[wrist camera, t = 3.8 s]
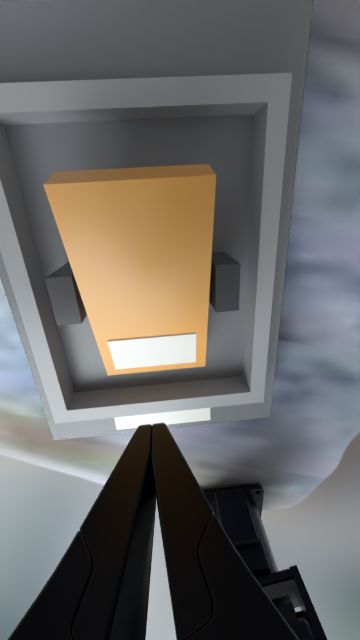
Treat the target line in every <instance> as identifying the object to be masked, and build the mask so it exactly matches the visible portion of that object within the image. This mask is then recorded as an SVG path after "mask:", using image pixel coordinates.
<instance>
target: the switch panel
mask: <svg viewBox="0 0 360 640" xmlns="http://www.w3.org/2000/svg"><path fill="white" fill-rule="evenodd" d="M312 4H313V0H2V1H0V278H1V281H2V284H3V287H4V290H5V293H6V296H7V299H8V302H9V305H10V308H11V311H12V314H13V317H14V320H15V323H16V326H17V330H18V333H19V336H20V339H21V342H22V345H23V348H24V351H25V354H26V357H27V360H28V363H29V366H30V369H31V372H32V375H33V378H34V381H35V384H36V387H37V390H38V393H39V396H40V399H41V402H42V405H43V408H44V411H45V414H46V417H47V420H48V423H49V427H50V430H51V433H52V436H53V439H54V440H61V439H71V438H80V437H89V436H99V435H108V434H118V433H127V432H135V431H136V430H137V428H138V426H140V425H146V424H151V425H153V424H155V423H165V424H166V426H167V427H168V428H174V427H184V426H193V425H203V424H212V423H221V422H231V421H240V420H250V419H259V418H269V417H270V414H271V404H272V394H273V385H274V375H275V365H276V355H277V346H278V336H279V326H280V316H281V307H282V297H283V287H284V277H285V268H286V258H287V248H288V238H289V229H290V219H291V209H292V199H293V190H294V180H295V170H296V160H297V151H298V141H299V131H300V121H301V112H302V102H303V92H304V82H305V73H306V63H307V53H308V43H309V34H310V24H311V14H312ZM194 164H209V166H210V167H211V169H212V170H213V171H214V173H215V174H216V188H215V206H214V223H213V240H212V258H211V275H210V292H209V310H208V327H207V344H206V362H205V366H203V367H193V368H182V369H172V370H161V371H150V372H140V373H129V374H119V375H107V372H106V369H105V366H104V363H103V360H102V357H101V354H100V351H99V348H98V345H97V342H96V339H95V336H94V333H93V330H92V327H91V324H90V322H89V319H88V316H87V313H86V310H85V307H84V304H83V301H82V298H81V295H80V292H79V289H78V286H77V283H76V280H75V277H74V274H73V271H72V268H71V265H70V262H69V259H68V256H67V253H66V251H65V248H64V245H63V242H62V239H61V236H60V233H59V230H58V227H57V224H56V221H55V218H54V215H53V212H52V209H51V206H50V203H49V200H48V197H47V194H46V191H45V188H44V185H43V184H44V183H45V182H46V181H47V180H48V179H49V178H50V177H51V176H52V175H53V174H54V173H55V172H63V171H82V170H101V169H119V168H138V167H157V166H176V165H194Z"/></svg>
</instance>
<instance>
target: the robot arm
mask: <svg viewBox="0 0 360 640" xmlns="http://www.w3.org/2000/svg"><path fill="white" fill-rule="evenodd" d="M263 493H264V491H263V488H262V486H261V485H258V484H257V485H248V486H240V487H232V488H223V489H215V490H207V491H202V489H201V487H200V486H199V484H198V482H197V480H196V478H195V477H194V475H193V473H192V471H191V469H190V467H189V466H188V464H187V462H186V460H185V458H184V457H183V455H182V453H181V451H180V449H179V447H178V446H177V444H176V442H175V440H174V438H173V437H172V435H171V433H170V431H169V429H168V427H167V426H166V424H165V423H155V424H153V425H151V424H146V425H140V426H138V428H137V430H136V431H135V433H134V435H133V437H132V438H131V440H130V442H129V443H128V445H127V447H126V449H125V450H124V452H123V454H122V456H121V457H120V459H119V461H118V463H117V464H116V466H115V468H114V470H113V471H112V473H111V475H110V477H109V478H108V480H107V482H106V483H105V485H104V487H103V489H102V490H101V492H100V494H99V496H98V497H97V499H96V501H95V503H94V504H93V506H92V508H91V510H90V511H89V513H88V515H87V517H86V518H85V520H84V522H83V523H82V525H81V527H80V531H78V532H77V534H76V535H75V537H74V539H73V541H72V542H71V544H70V546H69V548H68V549H67V551H66V553H65V554H64V556H63V557H62V559H61V561H60V562H59V564H58V566H57V567H56V569H55V571H54V572H53V574H52V575H51V577H50V578H49V580H48V581H47V583H46V584H45V586H44V587H43V589H42V590H41V592H40V593H39V595H38V596H37V598H36V599H35V601H34V602H33V604H32V605H31V607H30V608H29V609H28V611H27V612H26V614H25V615H24V617H23V618H22V619H21V621H20V622H19V624H18V625H17V627H16V628H15V630H14V631H13V633H12V634H11V635H10V637H9V638H8V640H145V636H146V625H147V624H146V623H147V611H148V599H149V586H150V574H151V561H152V547H153V536H154V522H155V510H156V499H157V506H158V512H159V520H160V526H161V533H162V540H163V548H164V555H165V562H166V568H167V576H168V583H169V589H170V597H171V603H172V610H173V617H174V624H175V631H176V638H177V640H327V638H326V635H325V633H324V631H323V628H322V626H321V623H320V621H319V619H318V616H317V614H316V611H315V609H314V607H313V604H312V602H311V599H310V597H309V594H308V592H307V590H306V588H305V585H304V582H303V580H302V578H301V575H300V573H299V570H298V568H297V566H296V565H294V566H291V567H289V569H286V570H282V571H278V568H277V565H276V562H275V559H274V556H273V554H272V550H271V547H270V544H269V541H268V538H267V535H266V532H265V530H264V526H263V523H262V520H261V512H262V502H263ZM296 607H301V609H302V611H299V612H295V609H294V608H296Z"/></svg>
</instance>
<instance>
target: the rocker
mask: <svg viewBox="0 0 360 640" xmlns="http://www.w3.org/2000/svg"><path fill="white" fill-rule="evenodd" d="M43 185H44V188H45V191H46V194H47V197H48V200H49V203H50V206H51V209H52V212H53V215H54V218H55V221H56V224H57V227H58V230H59V233H60V236H61V239H62V242H63V245H64V248H65V251H66V253H67V256H68V259H69V262H70V265H71V268H72V271H73V274H74V277H75V280H76V283H77V286H78V289H79V292H80V295H81V298H82V301H83V304H84V307H85V310H86V313H87V316H88V319H89V322H90V324H91V327H92V330H93V333H94V336H95V339H96V342H97V345H98V348H99V351H100V354H101V357H102V360H103V363H104V366H105V369H106V372H107V375H119V374H129V373H140V372H150V371H161V370H172V369H182V368H193V367H203V366H205V362H206V344H207V327H208V310H209V292H210V275H211V258H212V240H213V223H214V206H215V188H216V174H215V173H214V171H213V170H212V169H211V167H210V166H209V164H194V165H176V166H157V167H138V168H119V169H101V170H82V171H63V172H55V173H54V174H53V175H52V176H51V177H50V178H49V179H48V180H47V181H46V182H45V183H44V184H43Z"/></svg>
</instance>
